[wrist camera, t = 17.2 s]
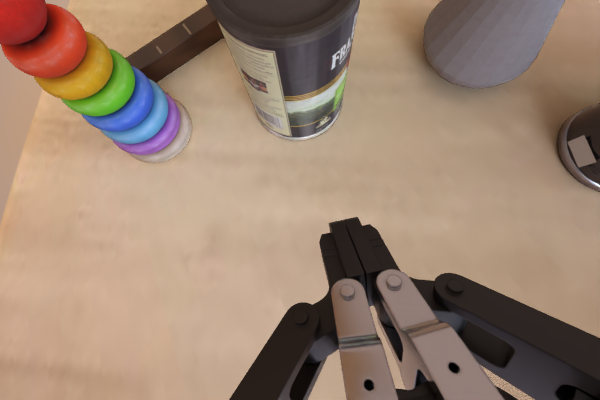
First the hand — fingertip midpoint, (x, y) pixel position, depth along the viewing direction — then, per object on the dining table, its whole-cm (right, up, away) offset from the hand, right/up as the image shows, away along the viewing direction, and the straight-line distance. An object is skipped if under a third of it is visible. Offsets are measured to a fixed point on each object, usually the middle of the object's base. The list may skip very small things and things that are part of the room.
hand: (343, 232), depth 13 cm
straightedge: (-15, +21, +18) cm, 32 cm away
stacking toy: (-18, +10, +16) cm, 26 cm away
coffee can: (-3, +13, +16) cm, 21 cm away
